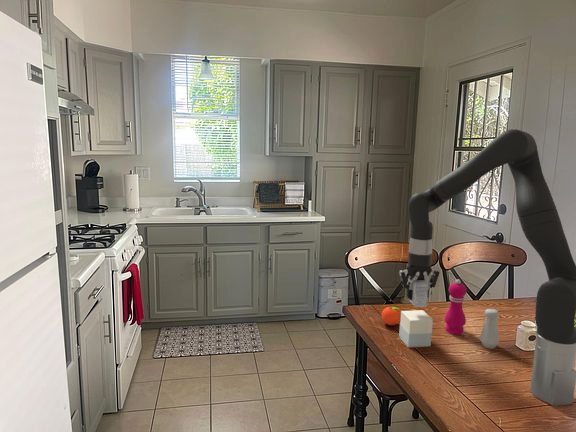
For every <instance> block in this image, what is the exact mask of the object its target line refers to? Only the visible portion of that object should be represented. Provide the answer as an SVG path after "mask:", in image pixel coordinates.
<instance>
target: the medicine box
mask: <svg viewBox="0 0 576 432" xmlns="http://www.w3.org/2000/svg"><path fill="white" fill-rule="evenodd" d="M412 280H413V279H412ZM412 290H413V294H412V300H409V299H408V301H409V302H410V303H411V304H412V305H413V307H414V308H427V307H428V298H427V296H428V283H427V282H426V281H425V280H417V281H415V282H414V284H413V288H412Z"/></svg>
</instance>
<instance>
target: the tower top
mask: <svg viewBox="0 0 576 432" xmlns="http://www.w3.org/2000/svg"><path fill="white" fill-rule="evenodd" d="M433 321H434V319H433V318H432V317H431V316H430V315H428V313H426V312H425V310H423V309H420V310H419V309H417V310H414V309H413V310H400V320H399V322H400V323H399V325H400V324H401V326H402V327H403V328H404V329H405V330H406V331H407V332H408V333H409V334H428V333H431V334H432V333H433V325H434V324H433V323H434V322H433Z"/></svg>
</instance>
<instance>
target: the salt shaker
mask: <svg viewBox="0 0 576 432" xmlns="http://www.w3.org/2000/svg"><path fill="white" fill-rule="evenodd" d="M484 316H485V321H484V322H483V323H484V324H483V328H482V330H481V332H480V335H479V339H480V342H481V345H482V347H484V348H486V349H489V350H490V349H492V350H494V349H495V348H496V347H497V346H498V344H499V343H500V337H499V329H498V320H497V319H498V318H499V316H500V313H499V311H498V310H497V309H494V308H487V309H485V310H484Z"/></svg>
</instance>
